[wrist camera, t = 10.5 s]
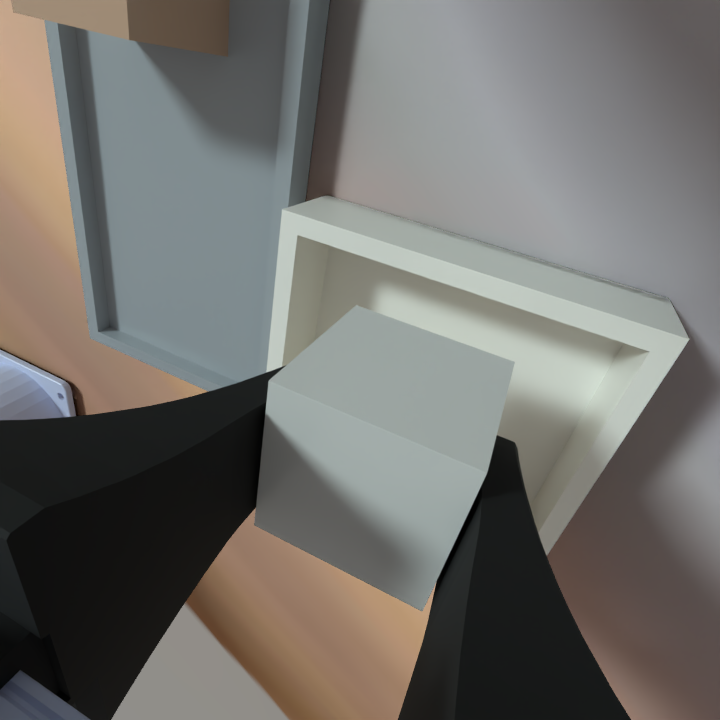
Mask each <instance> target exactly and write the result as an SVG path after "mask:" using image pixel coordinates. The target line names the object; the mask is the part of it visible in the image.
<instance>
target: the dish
mask: <svg viewBox="0 0 720 720" xmlns="http://www.w3.org/2000/svg"><path fill="white" fill-rule="evenodd" d="M356 305H357V306H360V307H363V308H366V309H368V310H371V311H374V312H377V313H380V314H382V315H385V316H388V317H391V318H394V319H396V320H399V321H402V322H405V323H408V324H410V325H413V326H416V327H419V328H421V329H424V330H427V331H430V332H433V333H435V334H438V335H441V336H444V337H447V338H449V339H452V340H455V341H458V342H461V343H463V344H466V345H469V346H472V347H475V348H477V349H480V350H483V351H486V352H488V353H491V354H494V355H497V356H500V357H502V358H505V359H508V360H511V361H514V362H515V364H514V368H513V372H512V376H511V380H510V384H509V388H508V392H507V396H506V400H505V404H504V408H503V412H502V416H501V420H500V424H499V428H498V432H497V435H498V436H501V437H503V438H506V439H508V440H511V441H513V442H515V444H516V446H517V448H518V455H519V461H520V467H521V472H522V476H523V481H524V485H525V489H526V493H527V497H528V501H529V504H530V508H531V511H532V514H533V518H534V521H535V524H536V527H537V531H538V534H539V537H540V539H541V542H542V545H543V548H544V551H545V553H546V556H547V555H548V553H549V552H550V550H551V549H552V547H553V546H554V544H555V543H556V541H557V540H558V538H559V537H560V535H561V534H562V532H563V531H564V529H565V528H566V526H567V525H568V523H569V522H570V520H571V518H572V517H573V515H574V514H575V512H576V511H577V509H578V508H579V506H580V505H581V503H582V502H583V500H584V499H585V497H586V496H587V494H588V493H589V491H590V490H591V488H592V487H593V485H594V484H595V482H596V481H597V479H598V478H599V476H600V474H601V473H602V471H603V470H604V468H605V467H606V465H607V464H608V462H609V461H610V459H611V458H612V456H613V455H614V453H615V452H616V450H617V449H618V447H619V446H620V444H621V443H622V441H623V440H624V438H625V437H626V435H627V433H628V432H629V430H630V429H631V427H632V426H633V424H634V423H635V421H636V420H637V418H638V417H639V415H640V414H641V412H642V411H643V409H644V408H645V406H646V405H647V403H648V402H649V400H650V399H651V397H652V396H653V394H654V392H655V391H656V389H657V388H658V386H659V385H660V383H661V382H662V380H663V379H664V377H665V376H666V374H667V373H668V371H669V370H670V368H671V367H672V365H673V364H674V362H675V361H676V359H677V358H678V356H679V355H680V353H681V352H682V350H683V348H684V347H685V345H686V344H687V342H688V341H689V337H688V335H687V333H686V331H685V329H684V327H683V325H682V323H681V321H680V319H679V317H678V315H677V313H676V311H675V309H674V308H673V306H672V304H671V302H670V300H669V298H666V297H662V296H659V295H656V294H652V293H649V292H646V291H642V290H639V289H636V288H633V287H629V286H626V285H623V284H619V283H616V282H613V281H609V280H606V279H603V278H600V277H596V276H593V275H590V274H586V273H583V272H580V271H576V270H573V269H570V268H566V267H563V266H560V265H557V264H553V263H550V262H547V261H543V260H540V259H537V258H533V257H530V256H527V255H523V254H520V253H517V252H514V251H510V250H507V249H504V248H500V247H497V246H494V245H490V244H487V243H484V242H481V241H477V240H474V239H471V238H467V237H464V236H461V235H457V234H454V233H451V232H447V231H444V230H441V229H438V228H434V227H431V226H428V225H424V224H421V223H418V222H414V221H411V220H408V219H404V218H401V217H398V216H395V215H391V214H388V213H385V212H381V211H378V210H375V209H371V208H368V207H365V206H362V205H358V204H355V203H352V202H348V201H345V200H342V199H338V198H335V197H332V196H328V195H326V196H322V197H319V198H316V199H313V200H310V201H307V202H303V203H300V204H297V205H294V206H291V207H288V208H284V209H282V215H281V225H280V235H279V246H278V256H277V267H276V277H275V287H274V298H273V308H272V319H271V329H270V339H269V350H268V360H267V370H266V373H267V372H269V371H272V370H275V369H277V368H280V367H283V366H285V365H287V364H289V363H290V362H291V361H292V360H293V359H294V358H295V357H297V356H298V355H299V354H300V353H301V352H302V351H304V350H305V349H306V348H307V347H308V346H309V345H311V344H312V343H313V342H314V341H315V340H316V339H318V338H319V337H320V336H321V335H322V334H323V333H325V332H326V331H327V330H328V329H329V328H330V327H332V326H333V325H334V324H335V323H336V322H337V321H339V320H340V319H341V318H342V317H343V316H344V315H345V314H347V313H348V312H349V311H350V310H351V309H352V308H354V307H355V306H356Z"/></svg>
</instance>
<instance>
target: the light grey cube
mask: <svg viewBox="0 0 720 720" xmlns="http://www.w3.org/2000/svg"><path fill="white" fill-rule="evenodd" d="M514 364H515V362H514V361H511V360H508V359H505V358H502V357H500V356H497V355H494V354H491V353H488V352H486V351H483V350H480V349H477V348H475V347H472V346H469V345H466V344H463V343H461V342H458V341H455V340H452V339H449V338H447V337H444V336H441V335H438V334H435V333H433V332H430V331H427V330H424V329H421V328H419V327H416V326H413V325H410V324H408V323H405V322H402V321H399V320H396V319H394V318H391V317H388V316H385V315H382V314H380V313H377V312H374V311H371V310H368V309H366V308H363V307H360V306H357V305H356V306H355V307H354V308H352V309H351V310H350V311H349V312H348V313H347V314H345V315H344V316H343V317H342V318H341V319H340V320H339V321H337V322H336V323H335V324H334V325H333V326H332V327H330V328H329V329H328V330H327V331H326V332H325V333H323V334H322V335H321V336H320V337H319V338H318V339H316V340H315V341H314V342H313V343H312V344H311V345H309V346H308V347H307V348H306V349H305V350H304V351H302V352H301V353H300V354H299V355H298V356H297V357H295V358H294V359H293V360H292V361H291V362H290V363H289V364H287V365H286V366H285V367H284V368H283V369H282V370H280V371H279V372H278V373H277V374H276V375H275V376H273V377H272V378H271V379H270V380H269V382H268V392H267V402H266V412H265V422H264V432H263V442H262V452H261V463H260V473H259V483H258V493H257V503H256V513H255V523H254V525H255V526H257V527H259V528H261V529H263V530H265V531H267V532H269V533H271V534H272V535H274V536H276V537H278V538H280V539H282V540H284V541H286V542H288V543H290V544H292V545H294V546H296V547H298V548H300V549H302V550H304V551H306V552H307V553H309V554H311V555H313V556H315V557H317V558H319V559H321V560H323V561H325V562H327V563H329V564H331V565H333V566H335V567H337V568H339V569H341V570H342V571H344V572H346V573H348V574H350V575H352V576H354V577H356V578H358V579H360V580H362V581H364V582H366V583H368V584H370V585H372V586H374V587H376V588H377V589H379V590H381V591H383V592H385V593H387V594H389V595H391V596H393V597H395V598H397V599H399V600H401V601H403V602H405V603H407V604H409V605H411V606H412V607H414V608H416V609H418V610H420V611H423V609H424V607H425V605H426V602H427V600H428V598H429V596H430V594H431V592H432V590H433V587H434V585H435V583H436V581H437V579H438V577H439V575H440V573H441V570H442V568H443V566H444V564H445V562H446V560H447V558H448V556H449V553H450V551H451V549H452V547H453V545H454V543H455V541H456V539H457V536H458V534H459V532H460V530H461V528H462V526H463V524H464V521H465V519H466V517H467V515H468V513H469V511H470V509H471V507H472V504H473V502H474V500H475V498H476V496H477V494H478V492H479V490H480V487H481V485H482V483H483V481H484V479H485V477H486V475H487V472H488V468H489V464H490V460H491V456H492V452H493V448H494V444H495V440H496V436H497V432H498V428H499V424H500V420H501V416H502V412H503V408H504V404H505V400H506V396H507V392H508V388H509V384H510V380H511V376H512V372H513V368H514Z"/></svg>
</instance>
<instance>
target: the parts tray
mask: <svg viewBox="0 0 720 720" xmlns="http://www.w3.org/2000/svg"><path fill="white" fill-rule="evenodd" d="M329 3H330V0H230V5H229V39H228V57H226V56H220V55H214V54H208V53H202V52H197V51H191V50H185V49H179V48H173V47H167V46H161V45H155V44H149V43H143V42H137V41H132V40H127V39H123V38H118V37H114V36H110V35H106V34H102V33H97V32H93V31H89V30H85V29H81V28H77V27H72V26H68V25H64V24H60V23H56V22H52V21H47V20H45V27H46V34H47V41H48V48H49V55H50V62H51V69H52V76H53V83H54V90H55V97H56V104H57V111H58V118H59V125H60V132H61V139H62V146H63V153H64V160H65V167H66V174H67V181H68V187H69V194H70V201H71V208H72V215H73V222H74V229H75V236H76V243H77V250H78V257H79V264H80V271H81V278H82V285H83V292H84V299H85V306H86V313H87V320H88V327H89V334H90V338H91V339H93V340H95V341H97V342H100V343H102V344H104V345H106V346H109V347H111V348H113V349H115V350H117V351H120V352H122V353H124V354H126V355H129V356H131V357H133V358H135V359H138V360H140V361H142V362H144V363H146V364H149V365H151V366H153V367H155V368H158V369H160V370H162V371H164V372H167V373H169V374H171V375H173V376H175V377H178V378H180V379H182V380H184V381H187V382H189V383H191V384H193V385H196V386H198V387H200V388H202V389H205V390H207V391H212V390H216V389H219V388H222V387H225V386H229V385H232V384H235V383H238V382H241V381H244V380H247V379H250V378H252V377H255V376H258V375H261V374H264V373H266V370H267V360H268V350H269V339H270V329H271V319H272V308H273V298H274V287H275V277H276V267H277V256H278V246H279V235H280V225H281V215H282V209H284V208H288V207H291V206H294V205H297V204H300V203H303V202H305V200H306V192H307V184H308V176H309V167H310V159H311V151H312V143H313V134H314V126H315V118H316V110H317V102H318V93H319V85H320V77H321V69H322V61H323V52H324V44H325V36H326V28H327V20H328V11H329Z"/></svg>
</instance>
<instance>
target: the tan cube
mask: <svg viewBox="0 0 720 720" xmlns="http://www.w3.org/2000/svg"><path fill="white" fill-rule="evenodd" d="M11 2H12V7H13V12H14V13H18V14H22V15H27V16H31V17H35V18H39V19H43V20H47V21H52V22H56V23H60V24H64V25H68V26H72V27H77V28H81V29H85V30H89V31H93V32H97V33H102V34H106V35H110V36H114V37H118V38H123V39H127V40H132V41H137V42H143V43H149V44H155V45H161V46H167V47H173V48H179V49H185V50H191V51H197V52H202V53H208V54H214V55H220V56H226V57H228V39H229V5H230V0H11Z"/></svg>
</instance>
